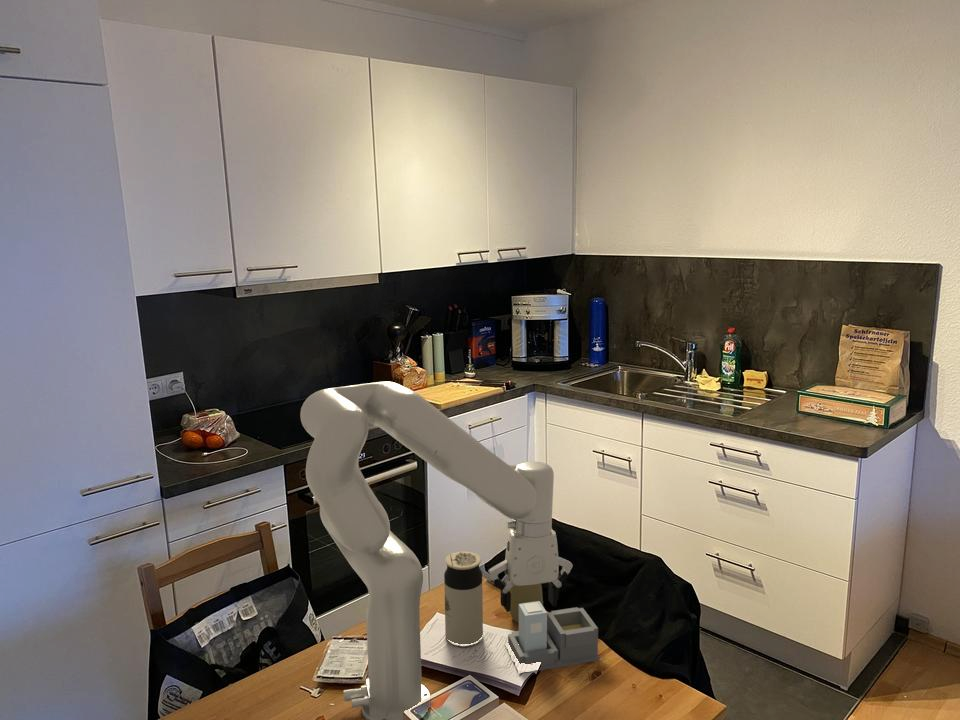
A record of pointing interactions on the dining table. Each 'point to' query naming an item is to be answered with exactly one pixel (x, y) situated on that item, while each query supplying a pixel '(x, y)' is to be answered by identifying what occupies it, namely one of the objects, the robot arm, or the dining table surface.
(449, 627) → the travel mug
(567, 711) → the dining table surface
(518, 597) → the squeeze bottle
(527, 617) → the plug
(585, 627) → the block
